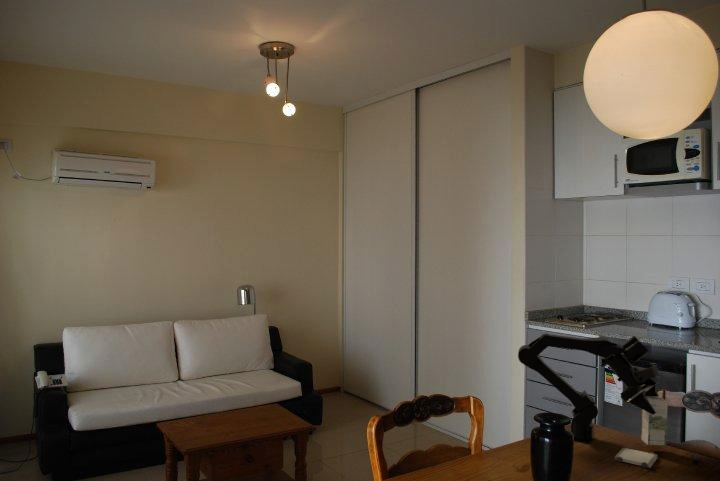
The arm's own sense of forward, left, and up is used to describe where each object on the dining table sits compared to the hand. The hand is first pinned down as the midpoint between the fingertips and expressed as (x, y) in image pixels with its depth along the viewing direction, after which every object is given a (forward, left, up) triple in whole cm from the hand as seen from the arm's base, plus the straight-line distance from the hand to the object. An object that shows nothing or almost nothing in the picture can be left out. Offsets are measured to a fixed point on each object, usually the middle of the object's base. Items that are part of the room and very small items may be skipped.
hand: (658, 411), depth 187 cm
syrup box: (-1, 0, -11) cm, 11 cm away
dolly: (-4, -11, -13) cm, 17 cm away
